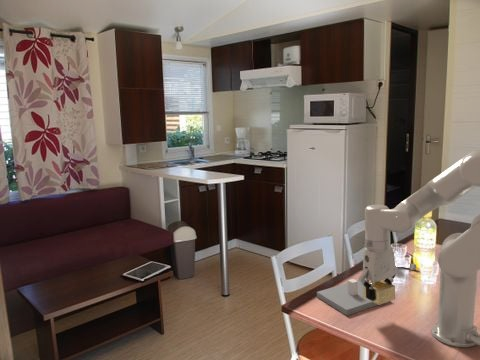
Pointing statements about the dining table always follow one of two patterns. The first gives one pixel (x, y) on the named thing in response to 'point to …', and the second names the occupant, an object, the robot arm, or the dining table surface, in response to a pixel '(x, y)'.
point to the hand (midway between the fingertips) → (379, 295)
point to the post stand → (346, 297)
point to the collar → (382, 292)
